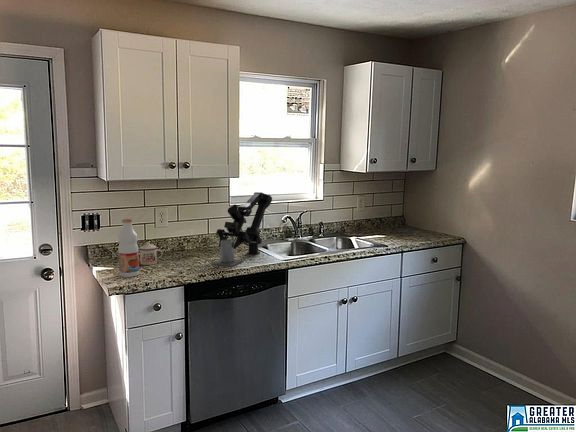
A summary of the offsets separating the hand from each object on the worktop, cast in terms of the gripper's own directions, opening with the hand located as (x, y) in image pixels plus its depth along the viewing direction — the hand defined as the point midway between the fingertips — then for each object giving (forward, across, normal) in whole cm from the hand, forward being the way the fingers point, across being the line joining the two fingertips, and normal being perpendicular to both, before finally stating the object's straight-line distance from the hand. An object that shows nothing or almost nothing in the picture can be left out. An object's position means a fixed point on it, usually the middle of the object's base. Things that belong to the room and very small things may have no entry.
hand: (226, 247), depth 261 cm
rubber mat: (+6, 0, +7) cm, 9 cm away
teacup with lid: (+20, -37, -7) cm, 42 cm away
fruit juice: (+37, -29, -24) cm, 53 cm away
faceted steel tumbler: (+5, 0, +6) cm, 8 cm away
